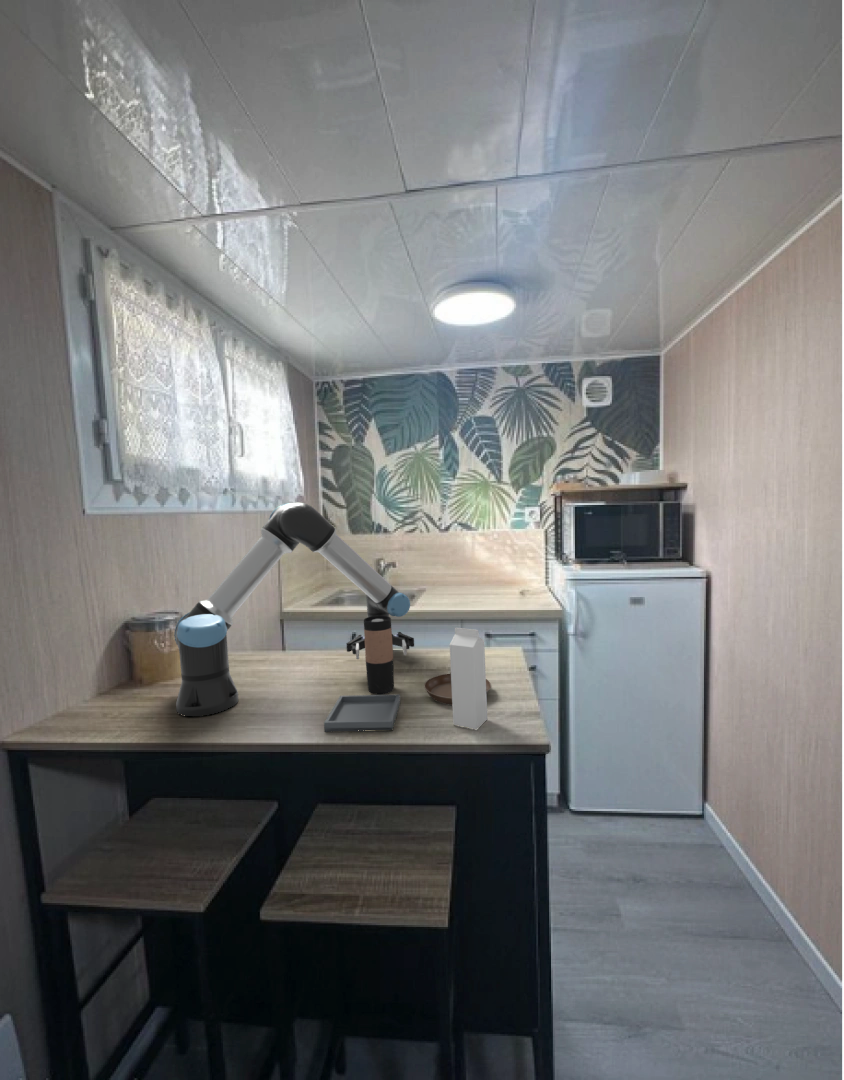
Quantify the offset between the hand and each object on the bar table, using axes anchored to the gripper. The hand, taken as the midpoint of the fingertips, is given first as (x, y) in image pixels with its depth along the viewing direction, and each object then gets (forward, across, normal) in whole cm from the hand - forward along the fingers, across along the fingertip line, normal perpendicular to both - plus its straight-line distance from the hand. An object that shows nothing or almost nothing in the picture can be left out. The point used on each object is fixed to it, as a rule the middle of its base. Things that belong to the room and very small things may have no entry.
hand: (381, 652), depth 137 cm
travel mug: (+4, +1, -10) cm, 10 cm away
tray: (+20, +5, -9) cm, 23 cm away
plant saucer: (+12, -19, -10) cm, 25 cm away
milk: (+29, -19, -10) cm, 36 cm away
